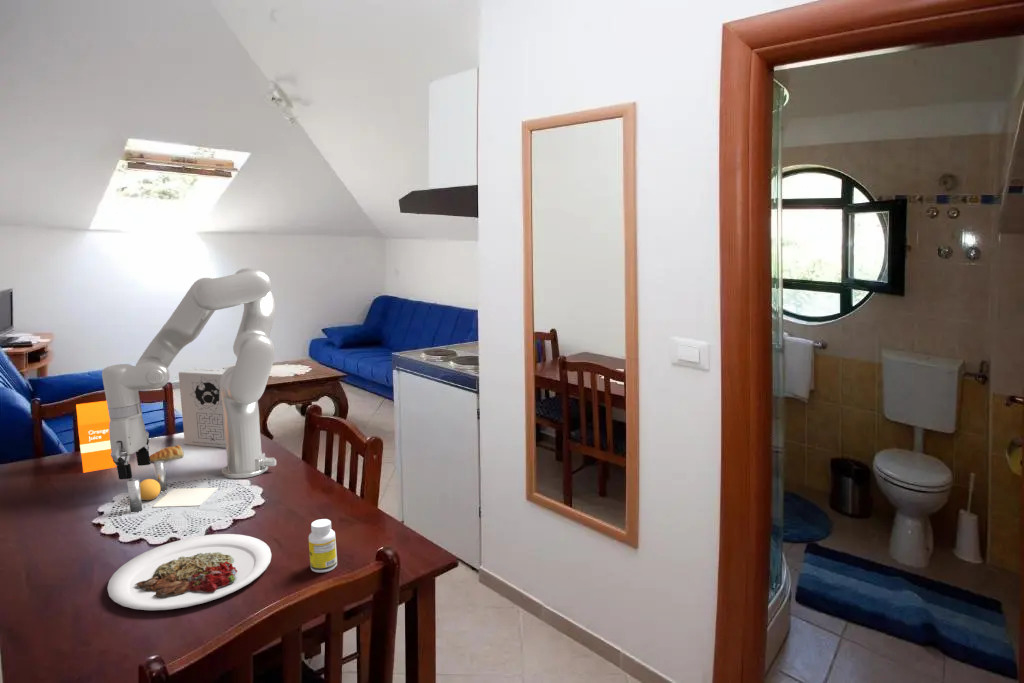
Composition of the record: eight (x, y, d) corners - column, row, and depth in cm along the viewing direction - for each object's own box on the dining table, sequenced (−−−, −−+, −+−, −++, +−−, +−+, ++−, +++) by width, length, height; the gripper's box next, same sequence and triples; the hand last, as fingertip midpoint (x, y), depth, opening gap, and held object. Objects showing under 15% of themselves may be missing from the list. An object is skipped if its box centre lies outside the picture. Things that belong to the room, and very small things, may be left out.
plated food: (163, 541, 147) (162, 527, 147) (293, 542, 146) (292, 528, 146) (71, 616, 118) (69, 599, 117) (232, 619, 117) (231, 601, 116)
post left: (144, 508, 164) (141, 478, 163) (139, 512, 162) (135, 482, 161) (133, 508, 164) (130, 478, 163) (128, 513, 162) (125, 482, 160)
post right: (168, 488, 178) (166, 460, 177) (164, 491, 175) (161, 463, 174) (159, 488, 178) (156, 460, 176) (154, 492, 175) (151, 464, 174)
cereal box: (255, 442, 218) (249, 370, 214) (240, 449, 211) (235, 374, 207) (200, 438, 223) (194, 367, 219) (184, 444, 216) (177, 371, 212)
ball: (139, 481, 172) (145, 501, 172) (130, 485, 167) (136, 505, 167) (160, 474, 173) (166, 493, 173) (151, 477, 167) (158, 497, 167)
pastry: (153, 465, 196) (152, 453, 196) (146, 460, 201) (145, 449, 201) (185, 458, 203) (184, 446, 202) (178, 453, 208) (177, 442, 207)
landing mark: (218, 488, 178) (218, 487, 177) (200, 506, 166) (199, 505, 166) (173, 489, 177) (173, 488, 177) (152, 507, 165) (151, 506, 165)
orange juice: (117, 467, 195) (111, 402, 192) (82, 472, 190) (75, 407, 187) (116, 459, 201) (109, 397, 198) (82, 465, 196) (75, 401, 193)
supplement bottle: (313, 561, 137) (310, 517, 135) (339, 560, 137) (337, 516, 136) (307, 574, 132) (304, 529, 130) (334, 572, 132) (332, 527, 131)
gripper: (127, 402, 179) (137, 461, 182) (91, 421, 162) (103, 485, 165) (155, 401, 180) (164, 459, 183) (122, 419, 163) (133, 483, 166)
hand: (135, 471), depth 174 cm, fingers open, 9 cm apart
